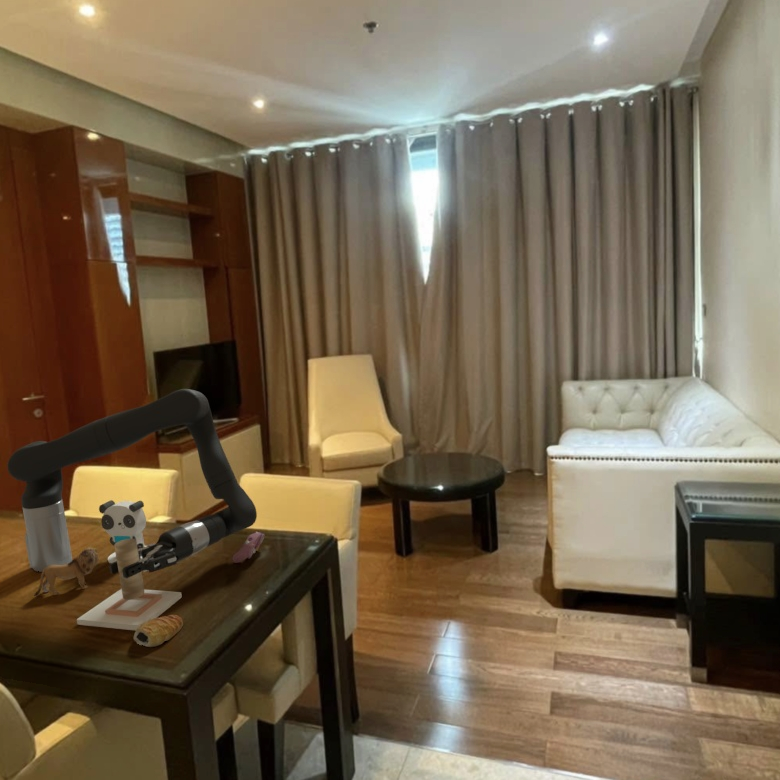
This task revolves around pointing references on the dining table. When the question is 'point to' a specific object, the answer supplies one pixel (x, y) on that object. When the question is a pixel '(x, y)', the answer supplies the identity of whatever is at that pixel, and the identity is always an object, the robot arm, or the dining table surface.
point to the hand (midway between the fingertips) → (117, 571)
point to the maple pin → (126, 557)
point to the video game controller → (249, 547)
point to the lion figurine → (70, 570)
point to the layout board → (129, 610)
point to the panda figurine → (123, 522)
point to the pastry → (158, 630)
